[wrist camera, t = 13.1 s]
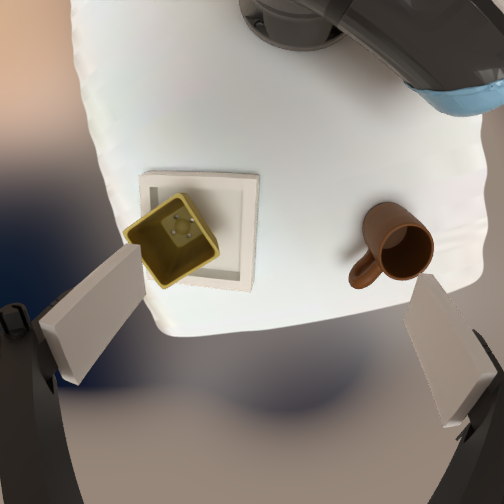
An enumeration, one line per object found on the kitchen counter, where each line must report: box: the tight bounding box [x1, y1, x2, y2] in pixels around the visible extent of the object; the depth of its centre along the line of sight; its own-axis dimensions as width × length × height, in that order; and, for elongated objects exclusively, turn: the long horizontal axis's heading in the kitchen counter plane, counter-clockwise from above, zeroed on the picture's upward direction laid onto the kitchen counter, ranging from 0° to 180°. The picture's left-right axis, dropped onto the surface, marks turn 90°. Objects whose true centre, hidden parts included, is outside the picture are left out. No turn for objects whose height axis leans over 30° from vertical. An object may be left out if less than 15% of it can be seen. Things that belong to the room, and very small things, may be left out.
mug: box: [349, 203, 434, 289], centre depth 37 cm, size 12×8×9 cm, turn 134°
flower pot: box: [123, 193, 220, 289], centre depth 38 cm, size 9×9×9 cm
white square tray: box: [139, 171, 259, 292], centre depth 42 cm, size 16×16×4 cm
